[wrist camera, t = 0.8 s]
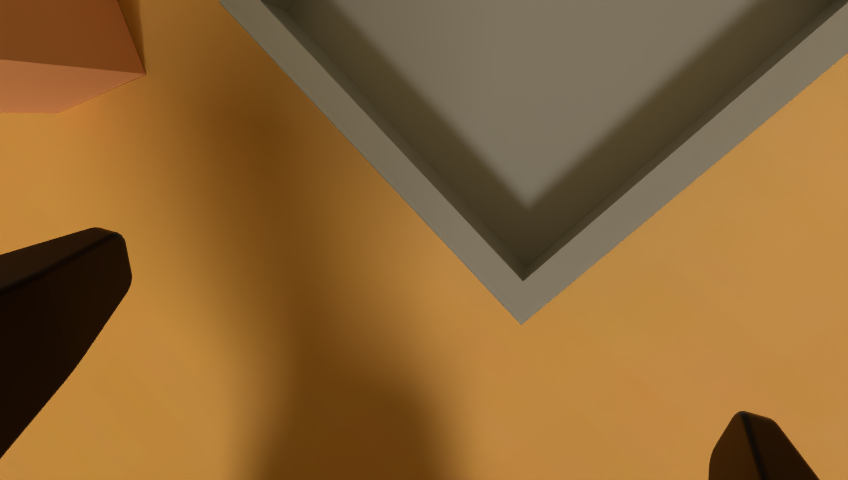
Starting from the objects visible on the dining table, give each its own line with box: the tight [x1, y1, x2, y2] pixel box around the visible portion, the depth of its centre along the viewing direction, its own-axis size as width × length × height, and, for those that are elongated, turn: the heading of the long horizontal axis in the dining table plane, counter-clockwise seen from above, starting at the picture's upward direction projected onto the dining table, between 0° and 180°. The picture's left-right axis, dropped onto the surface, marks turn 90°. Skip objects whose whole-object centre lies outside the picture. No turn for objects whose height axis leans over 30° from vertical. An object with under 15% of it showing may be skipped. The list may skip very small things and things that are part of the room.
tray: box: [219, 0, 848, 325], centre depth 19 cm, size 14×14×3 cm
